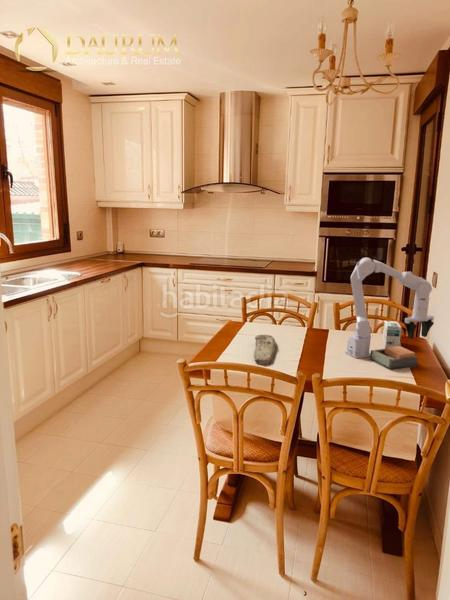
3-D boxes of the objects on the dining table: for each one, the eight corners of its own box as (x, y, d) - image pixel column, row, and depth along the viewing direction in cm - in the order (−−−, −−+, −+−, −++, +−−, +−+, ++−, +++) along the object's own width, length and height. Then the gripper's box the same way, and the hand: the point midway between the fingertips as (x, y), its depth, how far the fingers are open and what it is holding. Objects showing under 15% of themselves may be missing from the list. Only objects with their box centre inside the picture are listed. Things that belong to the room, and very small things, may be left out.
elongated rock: (249, 367, 181) (273, 370, 180) (250, 356, 180) (274, 359, 178) (256, 338, 214) (275, 340, 213) (257, 328, 213) (277, 330, 212)
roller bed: (390, 370, 179) (391, 359, 177) (369, 359, 190) (370, 349, 189) (416, 366, 183) (417, 356, 182) (394, 356, 195) (396, 346, 194)
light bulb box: (399, 348, 206) (402, 327, 204) (384, 347, 207) (387, 325, 205) (395, 341, 216) (398, 321, 214) (381, 340, 218) (384, 320, 215)
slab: (399, 359, 182) (400, 354, 181) (384, 352, 190) (385, 347, 189) (414, 358, 184) (414, 352, 184) (398, 351, 193) (399, 345, 192)
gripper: (414, 311, 179) (411, 341, 183) (440, 308, 185) (437, 338, 188) (402, 307, 186) (399, 337, 189) (427, 304, 191) (424, 333, 194)
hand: (417, 337), depth 189 cm, fingers open, 7 cm apart
